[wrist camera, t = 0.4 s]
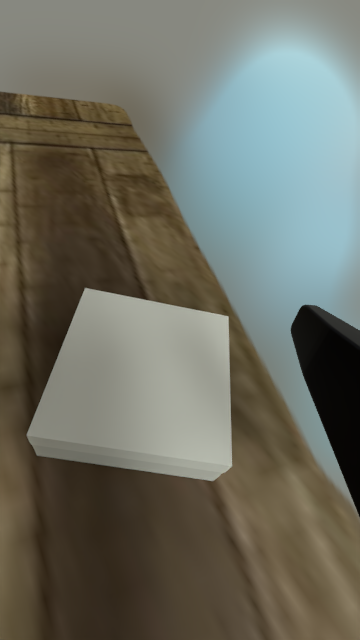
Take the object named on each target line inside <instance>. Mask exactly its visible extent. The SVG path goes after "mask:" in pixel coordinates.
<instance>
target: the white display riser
mask: <svg viewBox="0 0 360 640" xmlns="http://www.w3.org/2000/svg"><path fill="white" fill-rule="evenodd" d="M26 436H27V438H28V440H29V442H30V444H31V445H32V446H33V448H34V450H35V452H36V455H37V456H43V457H50V458H57V459H64V460H71V461H78V462H85V463H92V464H99V465H106V466H113V467H119V468H126V469H133V470H140V471H147V472H154V473H161V474H168V475H175V476H182V477H189V478H196V479H203V480H209V481H214V480H215V479H216V478H217V477H219V476H220V475H221V474H222V473H225V472H226V471H227V470H229V469H230V468H231V467H232V443H231V404H230V364H229V324H228V316H224V315H219V314H214V313H209V312H204V311H199V310H193V309H188V308H183V307H178V306H173V305H168V304H163V303H158V302H153V301H148V300H143V299H138V298H133V297H128V296H123V295H118V294H113V293H108V292H103V291H98V290H93V289H88V288H85V290H84V292H83V295H82V297H81V300H80V302H79V305H78V307H77V310H76V312H75V315H74V317H73V320H72V322H71V325H70V327H69V330H68V332H67V335H66V337H65V340H64V342H63V345H62V347H61V350H60V352H59V355H58V357H57V360H56V362H55V365H54V367H53V370H52V372H51V375H50V378H49V380H48V383H47V385H46V388H45V390H44V393H43V395H42V398H41V400H40V403H39V405H38V408H37V410H36V413H35V415H34V418H33V420H32V423H31V425H30V428H29V430H28V433H27V435H26Z"/></svg>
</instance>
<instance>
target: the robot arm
mask: <svg viewBox="0 0 360 640" xmlns="http://www.w3.org/2000/svg"><path fill="white" fill-rule="evenodd" d="M291 334H292V338H293V342H294V345H295V348H296V352H297V356H298V359H299V363H300V367H301V370H302V373H303V376H304V379H305V381H306V384H307V386H308V389H309V391H310V394H311V396H312V399H313V401H314V403H315V406H316V409H317V411H318V414H319V416H320V419H321V421H322V424H323V426H324V429H325V431H326V434H327V436H328V439H329V441H330V444H331V446H332V449H333V451H334V454H335V456H336V459H337V461H338V464H339V466H340V469H341V471H342V474H343V476H344V479H345V481H346V484H347V487H348V489H349V492H350V494H351V497H352V499H353V502H354V504H355V507H356V509H357V512H358V514H359V517H360V330H358V329H356V328H354V327H353V326H351V325H349V324H348V323H345V322H344V321H342V320H341V319H339V318H337V317H335V316H334V315H332V314H330V313H328V312H327V311H325V310H323V309H321V308H320V307H318V306H315V305H303V306H302V307H301V308H300V310H299V312H298V314H297V316H296V318H295V320H294V322H293V323H292V326H291Z"/></svg>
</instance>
